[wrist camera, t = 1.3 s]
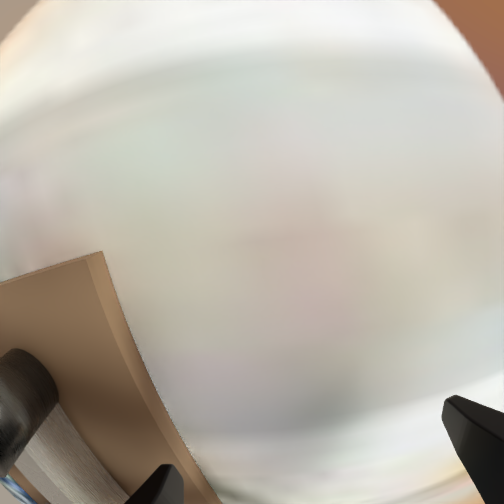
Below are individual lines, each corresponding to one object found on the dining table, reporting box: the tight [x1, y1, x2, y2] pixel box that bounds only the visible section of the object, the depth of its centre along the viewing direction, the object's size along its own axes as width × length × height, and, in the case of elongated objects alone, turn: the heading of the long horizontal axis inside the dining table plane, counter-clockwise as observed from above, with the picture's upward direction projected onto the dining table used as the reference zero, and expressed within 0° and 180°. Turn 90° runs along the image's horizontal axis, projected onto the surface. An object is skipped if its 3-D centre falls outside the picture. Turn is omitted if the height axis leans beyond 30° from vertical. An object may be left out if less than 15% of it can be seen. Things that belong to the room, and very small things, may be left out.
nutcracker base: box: [0, 251, 222, 504], centre depth 10 cm, size 22×16×5 cm
